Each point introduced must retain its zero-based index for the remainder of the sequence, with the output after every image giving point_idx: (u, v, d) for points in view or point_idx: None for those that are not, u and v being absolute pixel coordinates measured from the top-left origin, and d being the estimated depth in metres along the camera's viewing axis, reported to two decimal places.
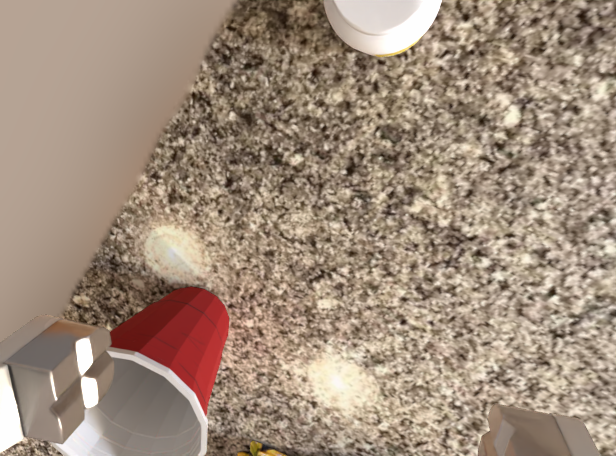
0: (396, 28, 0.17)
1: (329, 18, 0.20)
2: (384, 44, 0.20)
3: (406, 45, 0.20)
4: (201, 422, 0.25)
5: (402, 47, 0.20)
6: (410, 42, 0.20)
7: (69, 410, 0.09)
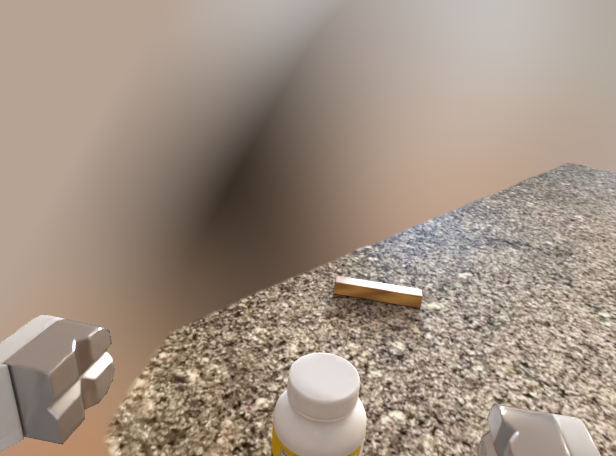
0: (356, 371, 0.25)
1: (338, 447, 0.23)
2: (360, 408, 0.25)
3: (360, 402, 0.26)
4: None
5: (361, 404, 0.26)
6: (358, 399, 0.26)
7: (69, 410, 0.09)
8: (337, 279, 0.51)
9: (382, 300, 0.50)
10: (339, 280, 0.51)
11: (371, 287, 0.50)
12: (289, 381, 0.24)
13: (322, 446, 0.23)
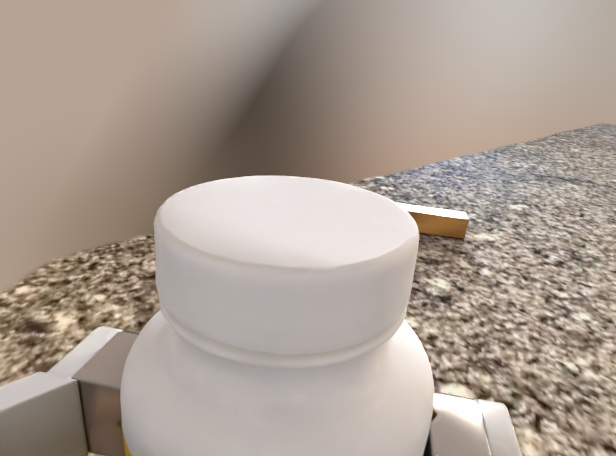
0: None
1: None
2: (413, 339, 0.08)
3: None
4: None
5: None
6: None
7: None
8: None
9: None
10: None
11: None
12: (155, 220, 0.06)
13: None
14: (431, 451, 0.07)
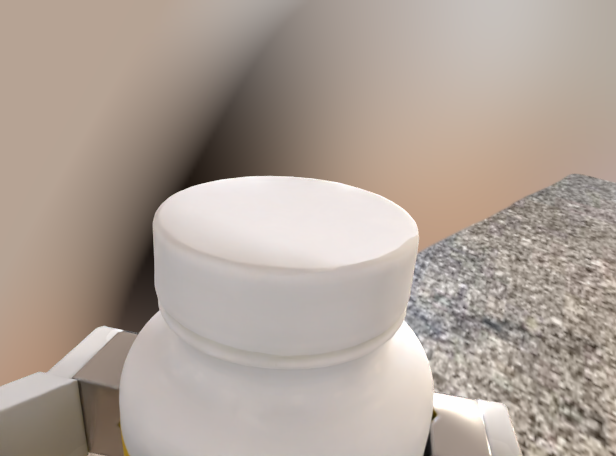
0: None
1: None
2: (413, 340, 0.08)
3: None
4: None
5: None
6: None
7: None
8: None
9: None
10: None
11: None
12: (154, 221, 0.06)
13: None
14: (431, 451, 0.07)
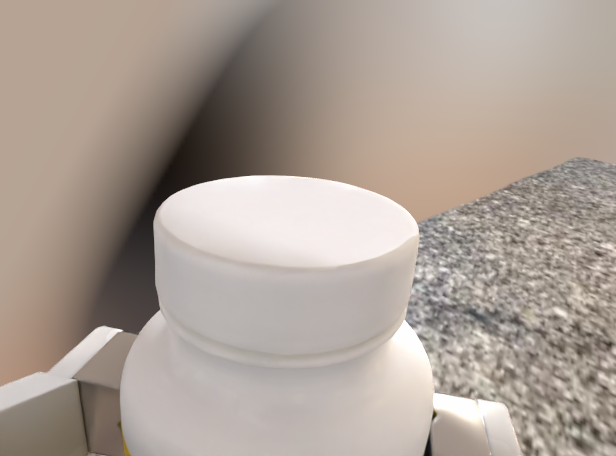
0: None
1: None
2: (413, 339, 0.08)
3: None
4: None
5: None
6: None
7: None
8: None
9: None
10: None
11: None
12: (154, 220, 0.06)
13: None
14: (431, 451, 0.07)
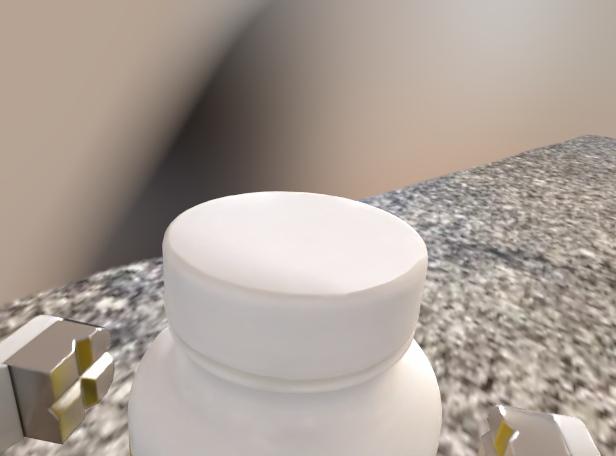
0: None
1: None
2: (420, 357, 0.08)
3: None
4: None
5: None
6: None
7: (69, 410, 0.09)
8: None
9: None
10: None
11: None
12: (163, 242, 0.06)
13: None
14: None
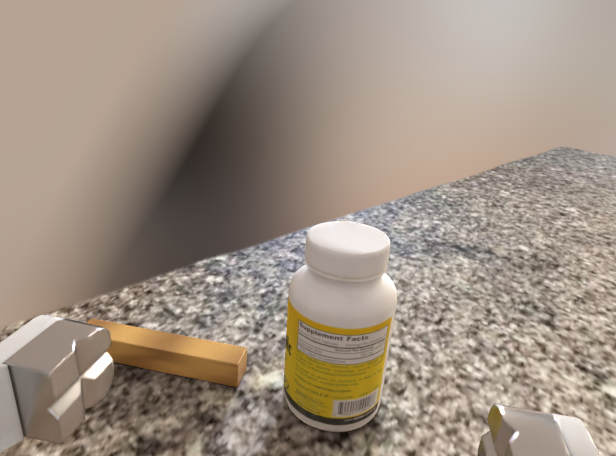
0: (385, 235, 0.21)
1: (367, 312, 0.19)
2: (390, 280, 0.21)
3: None
4: None
5: None
6: None
7: (69, 410, 0.09)
8: None
9: (166, 370, 0.25)
10: None
11: (140, 345, 0.25)
12: (308, 240, 0.20)
13: (349, 310, 0.19)
14: None
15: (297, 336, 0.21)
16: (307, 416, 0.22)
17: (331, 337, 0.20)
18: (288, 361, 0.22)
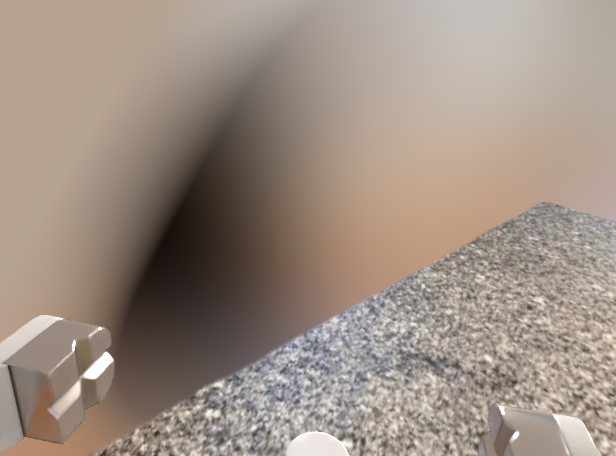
0: (347, 452, 0.27)
1: None
2: None
3: None
4: None
5: None
6: None
7: (69, 410, 0.09)
8: None
9: None
10: None
11: None
12: None
13: None
14: None
15: None
16: None
17: None
18: None
